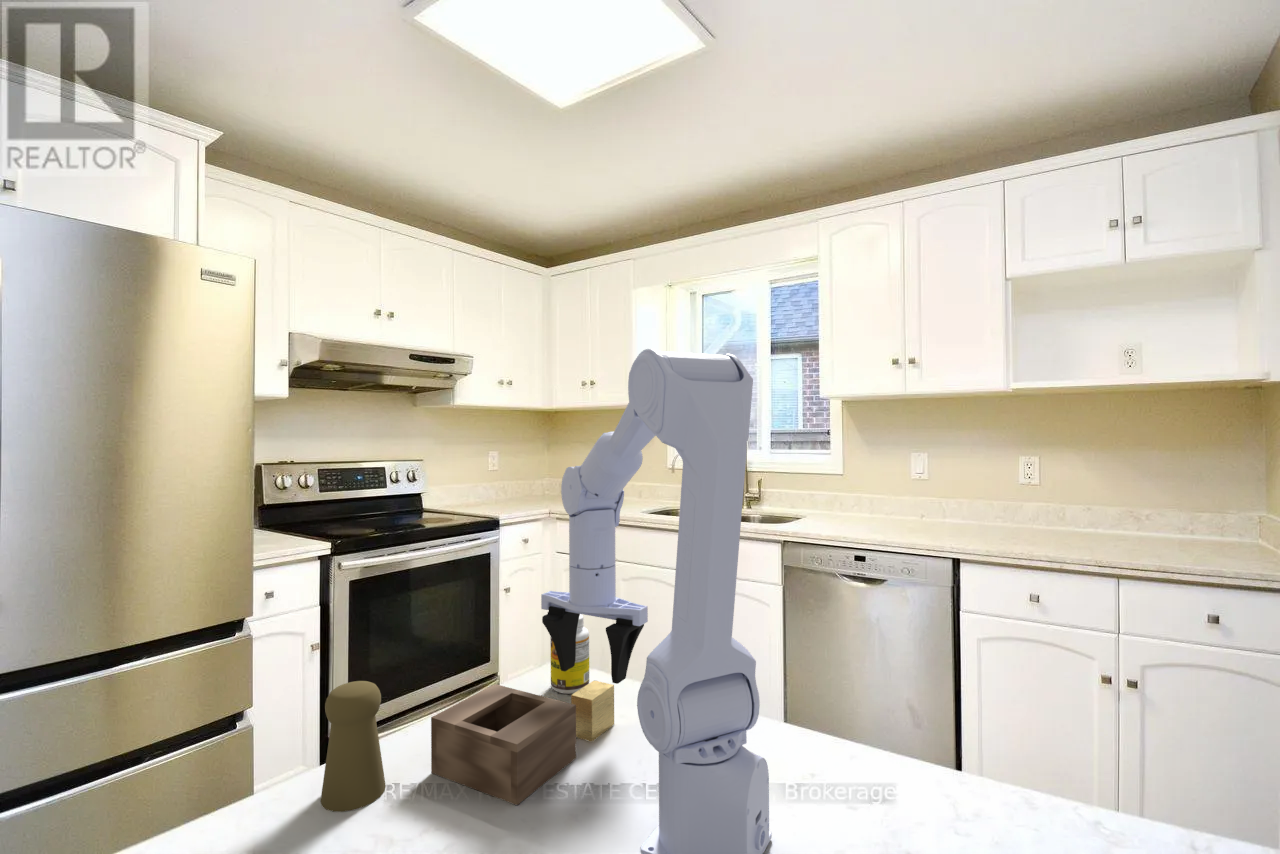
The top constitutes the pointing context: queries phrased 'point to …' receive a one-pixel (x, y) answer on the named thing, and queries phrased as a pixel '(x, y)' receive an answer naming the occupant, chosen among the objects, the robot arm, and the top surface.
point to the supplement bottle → (580, 672)
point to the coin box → (503, 742)
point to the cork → (353, 748)
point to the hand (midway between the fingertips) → (592, 674)
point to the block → (593, 710)
